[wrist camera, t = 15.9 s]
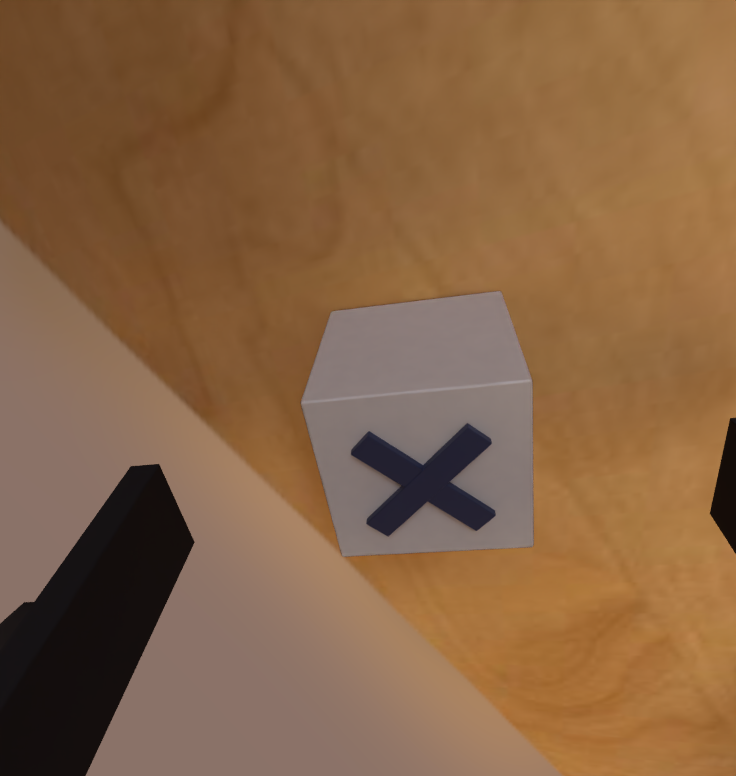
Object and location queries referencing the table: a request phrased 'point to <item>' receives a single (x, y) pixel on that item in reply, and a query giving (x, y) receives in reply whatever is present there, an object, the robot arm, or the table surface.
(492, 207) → the table surface
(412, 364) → the tile
